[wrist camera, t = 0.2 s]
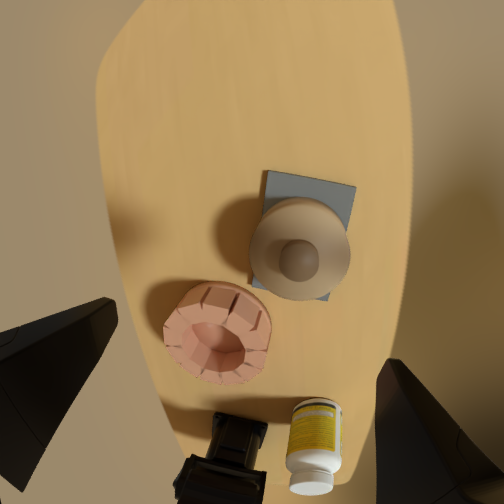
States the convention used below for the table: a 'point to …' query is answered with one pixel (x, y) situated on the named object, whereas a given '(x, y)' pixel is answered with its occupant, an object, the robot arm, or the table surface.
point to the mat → (302, 186)
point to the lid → (300, 249)
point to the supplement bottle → (314, 446)
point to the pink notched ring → (219, 333)
